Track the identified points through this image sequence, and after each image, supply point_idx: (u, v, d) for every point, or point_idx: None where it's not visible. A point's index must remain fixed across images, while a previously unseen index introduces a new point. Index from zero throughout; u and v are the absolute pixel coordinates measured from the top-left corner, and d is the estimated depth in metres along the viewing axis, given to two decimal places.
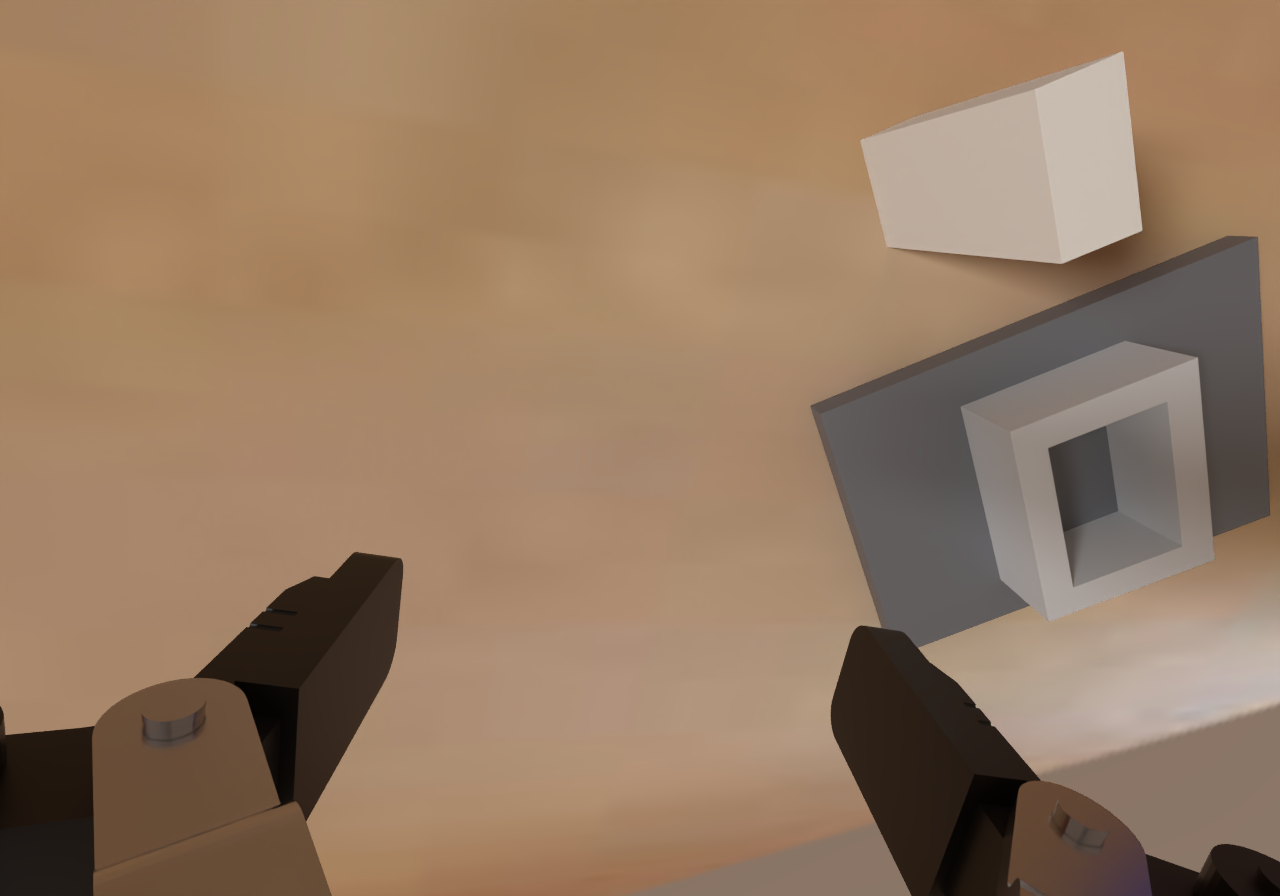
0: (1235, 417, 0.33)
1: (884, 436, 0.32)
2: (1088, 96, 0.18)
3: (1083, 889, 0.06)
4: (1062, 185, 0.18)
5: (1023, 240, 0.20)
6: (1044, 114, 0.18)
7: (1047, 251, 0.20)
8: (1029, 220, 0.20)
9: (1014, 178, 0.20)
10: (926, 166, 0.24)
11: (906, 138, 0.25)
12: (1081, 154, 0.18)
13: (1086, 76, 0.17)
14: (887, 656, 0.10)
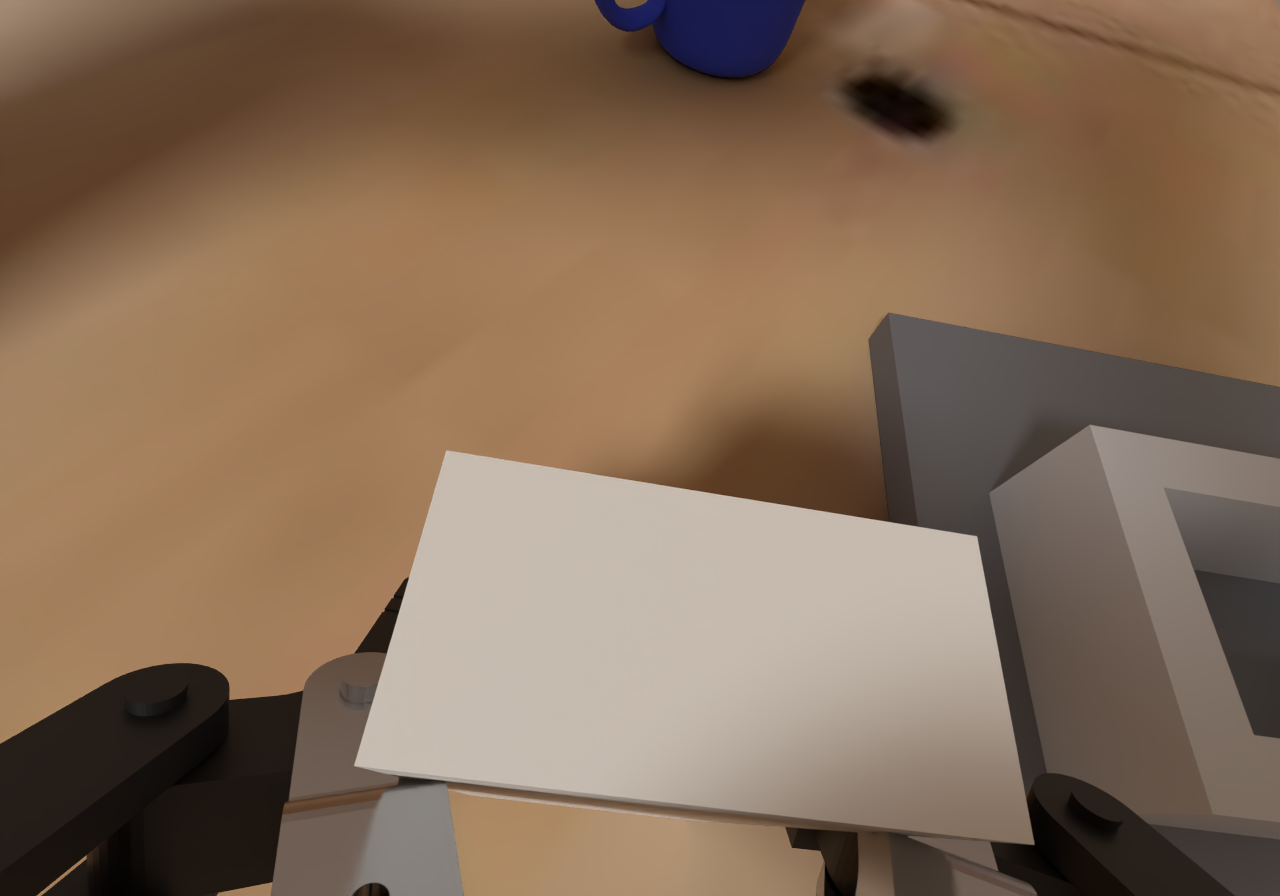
0: (1134, 392, 0.23)
1: None
2: (506, 580, 0.05)
3: None
4: (749, 753, 0.05)
5: (849, 829, 0.06)
6: (464, 754, 0.04)
7: (946, 836, 0.05)
8: (803, 821, 0.06)
9: (651, 806, 0.06)
10: (548, 800, 0.10)
11: (480, 794, 0.11)
12: (673, 653, 0.05)
13: (441, 569, 0.05)
14: None
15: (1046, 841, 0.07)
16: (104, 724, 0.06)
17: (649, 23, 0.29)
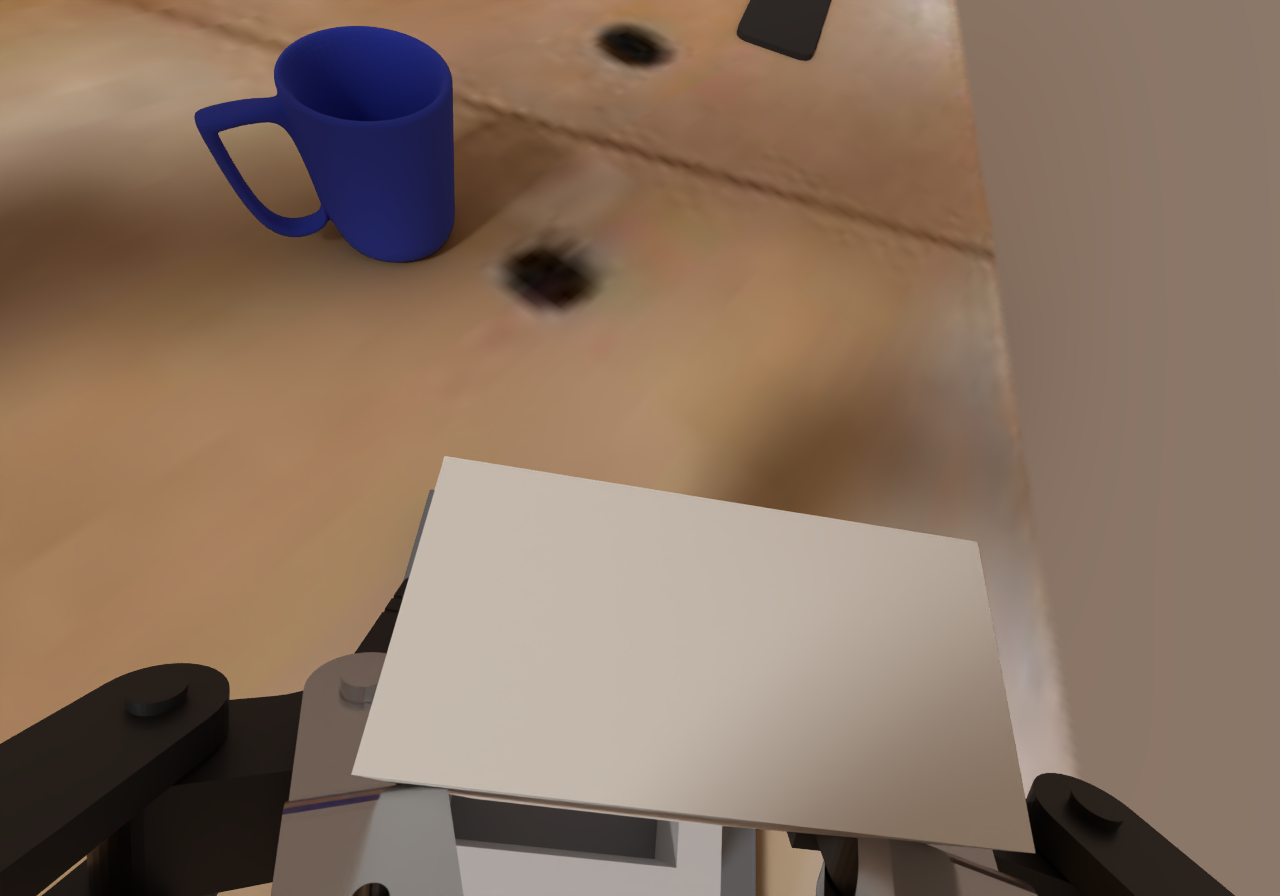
0: None
1: None
2: (504, 586, 0.05)
3: None
4: (748, 760, 0.05)
5: (849, 834, 0.06)
6: (464, 762, 0.04)
7: (947, 844, 0.05)
8: (803, 829, 0.06)
9: (650, 812, 0.06)
10: None
11: None
12: (672, 660, 0.05)
13: (439, 576, 0.05)
14: None
15: (1046, 841, 0.07)
16: (104, 724, 0.06)
17: (316, 230, 0.36)
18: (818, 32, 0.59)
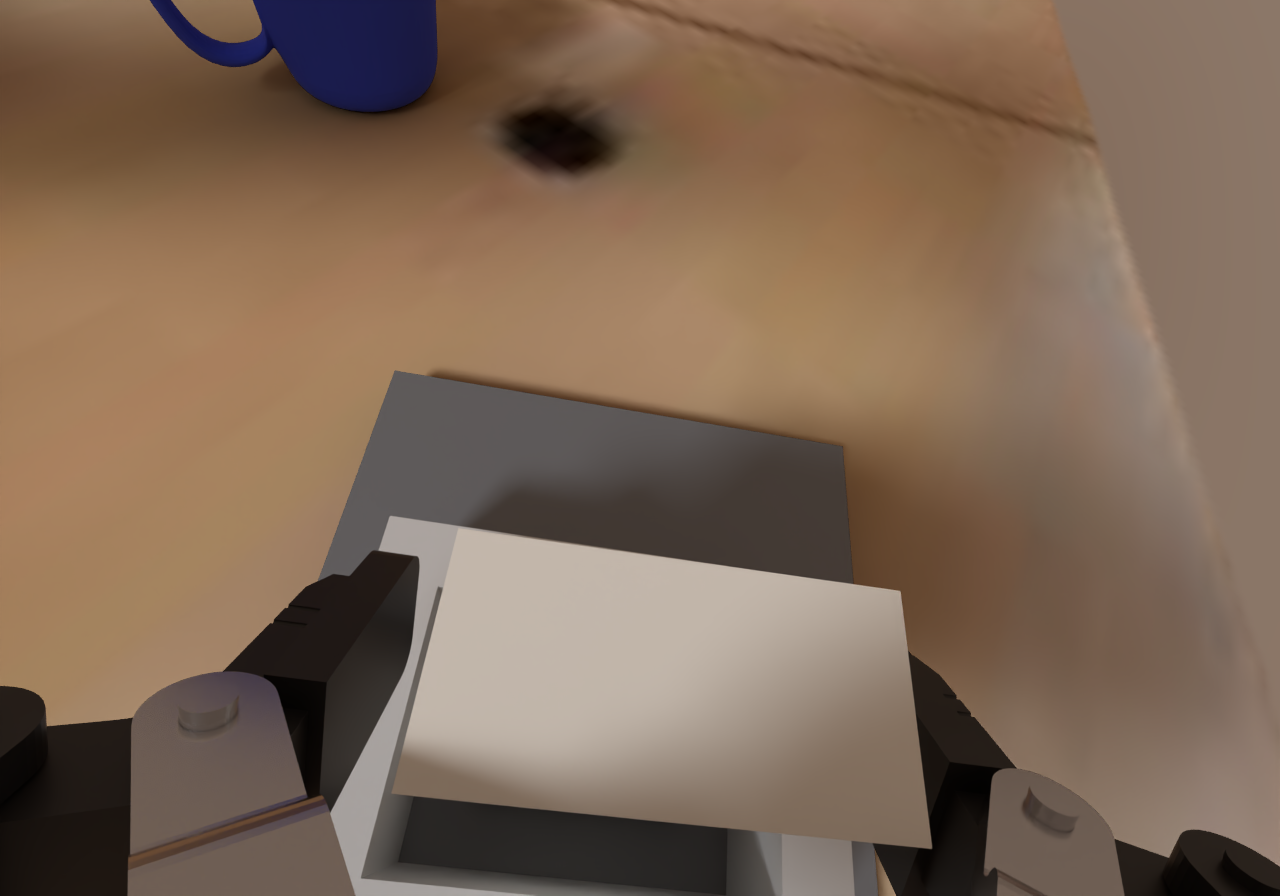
0: (652, 453, 0.22)
1: None
2: (508, 638, 0.06)
3: (1050, 871, 0.06)
4: (704, 778, 0.06)
5: None
6: (478, 782, 0.06)
7: (868, 842, 0.06)
8: None
9: None
10: None
11: None
12: (646, 696, 0.06)
13: (456, 631, 0.06)
14: None
15: None
16: None
17: (256, 58, 0.28)
18: None
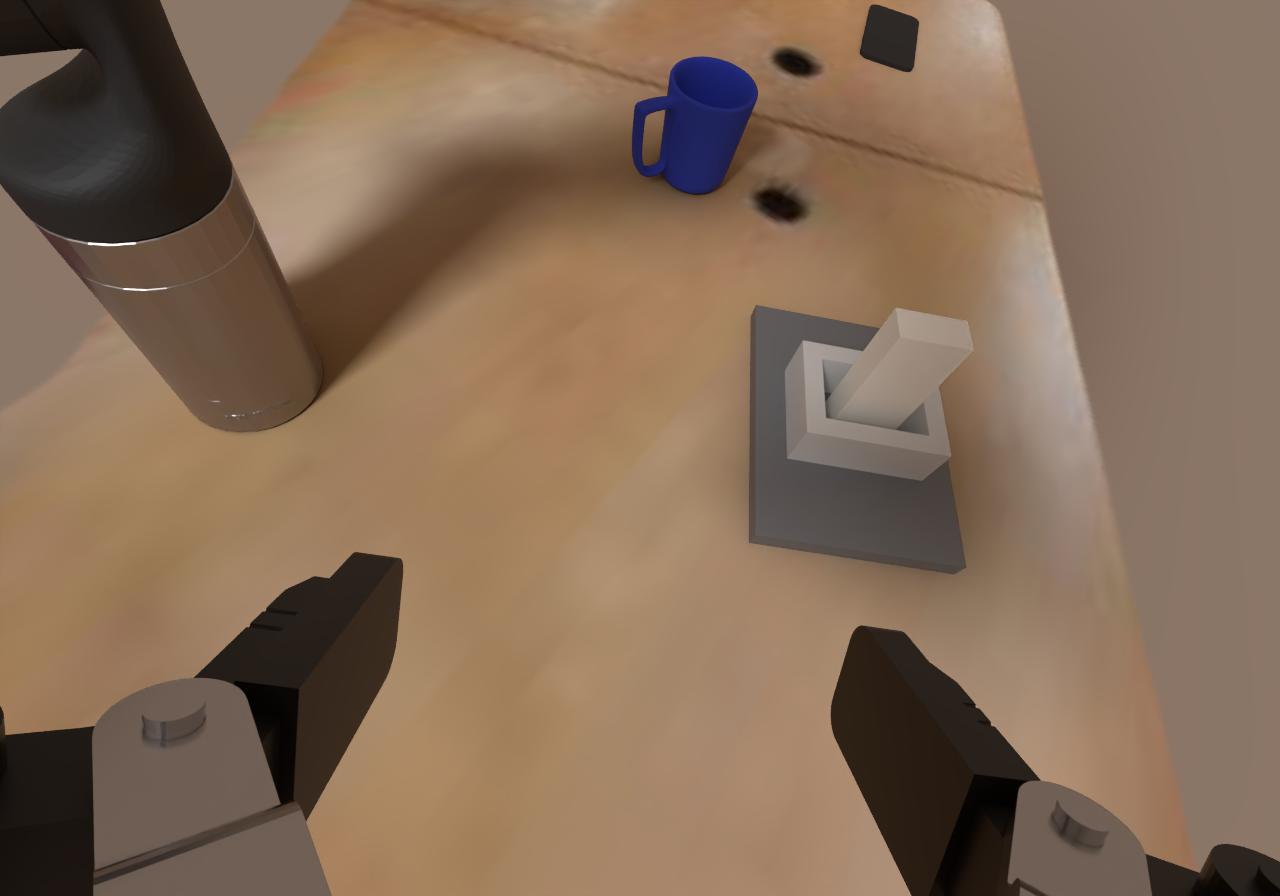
0: (854, 337, 0.56)
1: (787, 505, 0.47)
2: (908, 322, 0.41)
3: (1083, 889, 0.06)
4: (940, 339, 0.41)
5: (949, 363, 0.42)
6: (910, 337, 0.40)
7: (963, 354, 0.41)
8: (943, 358, 0.41)
9: (921, 358, 0.42)
10: (873, 399, 0.46)
11: (852, 404, 0.47)
12: (930, 330, 0.41)
13: (901, 320, 0.41)
14: (887, 656, 0.10)
15: None
16: None
17: (659, 173, 0.62)
18: (914, 52, 0.86)
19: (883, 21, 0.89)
